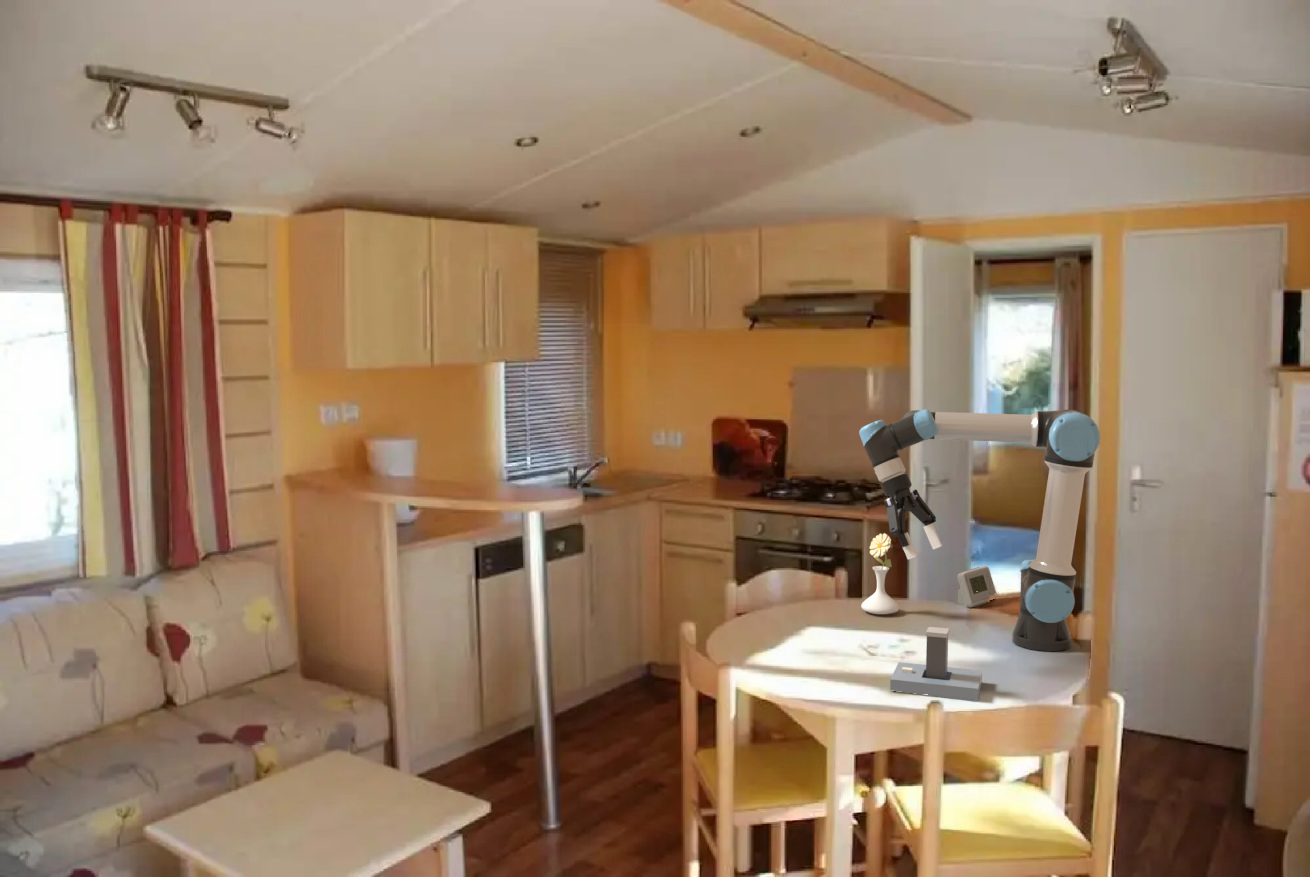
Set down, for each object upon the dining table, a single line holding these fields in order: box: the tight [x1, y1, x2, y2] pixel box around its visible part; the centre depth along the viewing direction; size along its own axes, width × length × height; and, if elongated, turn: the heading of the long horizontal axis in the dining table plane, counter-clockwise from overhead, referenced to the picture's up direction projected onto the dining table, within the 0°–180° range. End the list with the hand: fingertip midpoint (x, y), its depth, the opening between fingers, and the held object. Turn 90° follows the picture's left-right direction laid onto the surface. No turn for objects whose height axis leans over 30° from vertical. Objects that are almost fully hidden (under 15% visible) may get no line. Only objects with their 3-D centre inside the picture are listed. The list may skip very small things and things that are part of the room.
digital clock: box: [956, 565, 997, 609], centre depth 335 cm, size 16×9×11 cm, turn 120°
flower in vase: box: [860, 532, 900, 615], centre depth 323 cm, size 13×11×25 cm
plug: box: [925, 626, 950, 680], centre depth 257 cm, size 5×5×14 cm
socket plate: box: [889, 661, 983, 702], centre depth 257 cm, size 20×14×4 cm
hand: (925, 553), depth 279 cm, fingers open, 13 cm apart
